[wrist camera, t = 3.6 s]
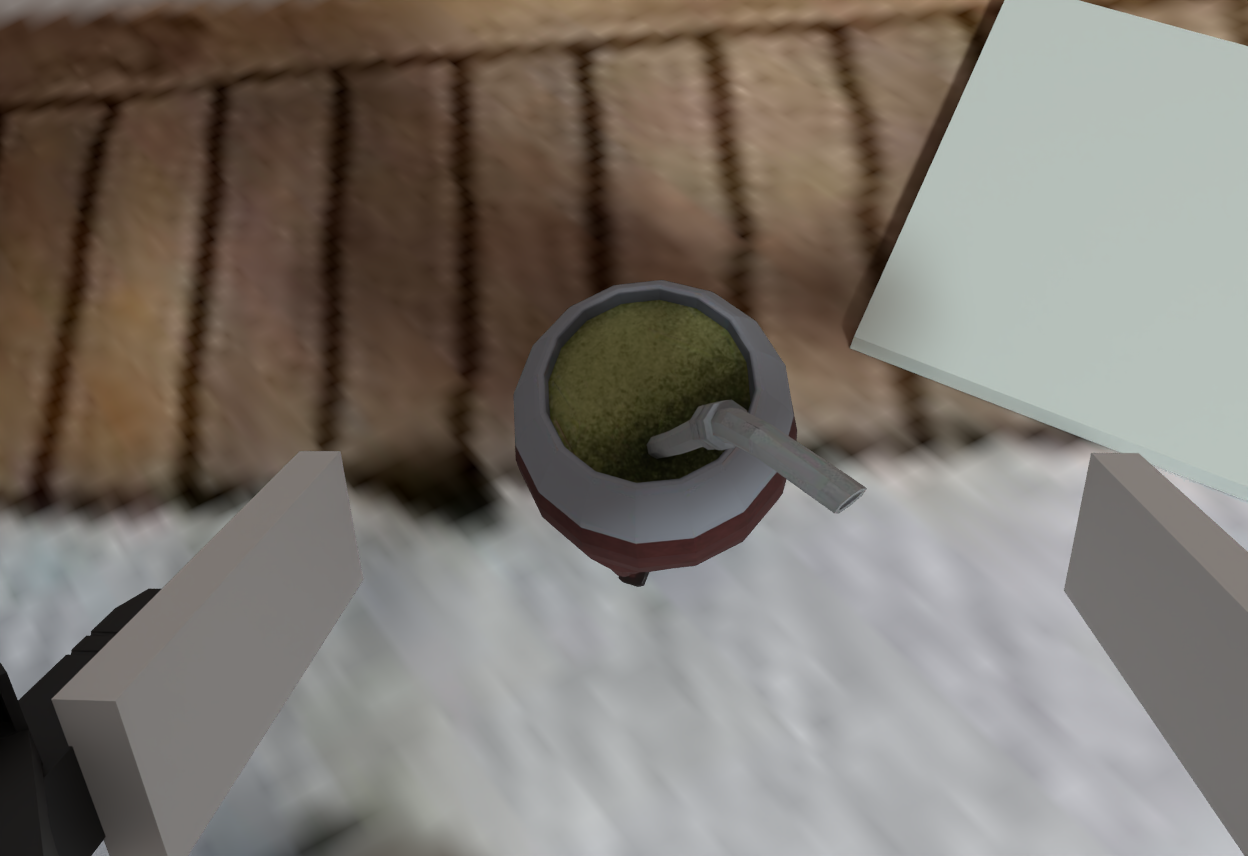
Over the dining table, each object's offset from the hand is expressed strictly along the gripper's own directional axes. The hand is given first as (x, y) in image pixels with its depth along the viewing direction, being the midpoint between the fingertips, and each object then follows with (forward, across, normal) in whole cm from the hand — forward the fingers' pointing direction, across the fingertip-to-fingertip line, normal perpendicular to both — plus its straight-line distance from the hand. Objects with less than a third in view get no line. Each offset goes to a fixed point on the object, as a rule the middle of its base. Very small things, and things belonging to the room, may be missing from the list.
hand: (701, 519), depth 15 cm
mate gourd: (+10, -1, -5) cm, 11 cm away
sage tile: (+15, +18, +1) cm, 24 cm away
